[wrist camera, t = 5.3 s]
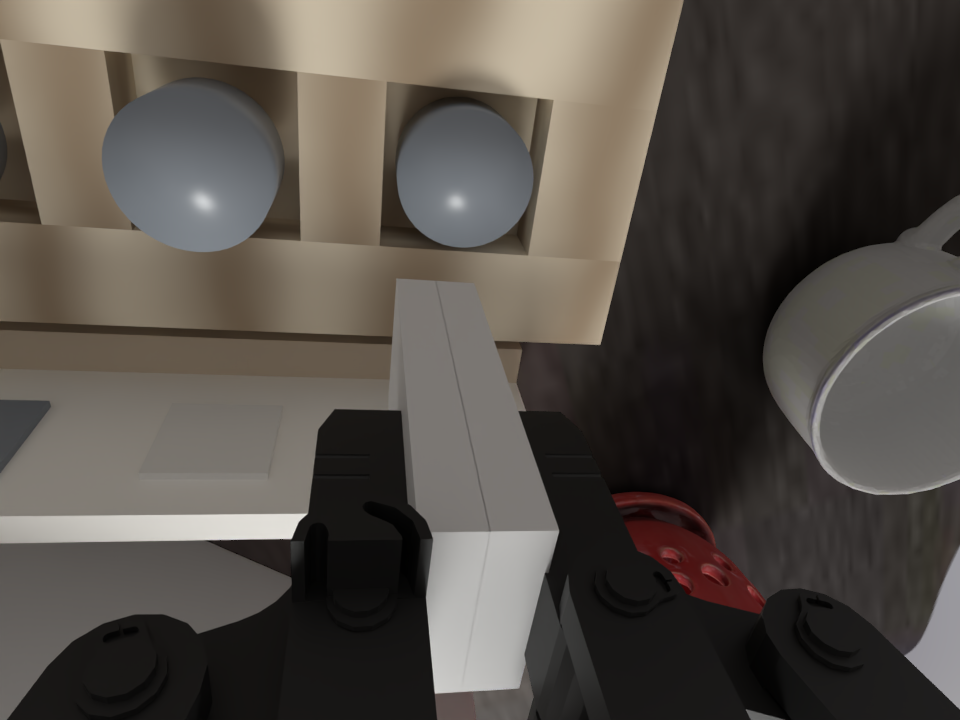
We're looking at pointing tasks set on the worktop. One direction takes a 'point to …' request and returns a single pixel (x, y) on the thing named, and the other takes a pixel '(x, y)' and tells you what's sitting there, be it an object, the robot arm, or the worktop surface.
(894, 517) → the worktop surface
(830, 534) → the worktop surface
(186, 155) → the button centre
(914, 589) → the worktop surface
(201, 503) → the pattern card
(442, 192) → the button
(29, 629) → the rounded white slab
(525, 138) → the button board
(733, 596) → the plant pot
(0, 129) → the button
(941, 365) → the teacup
